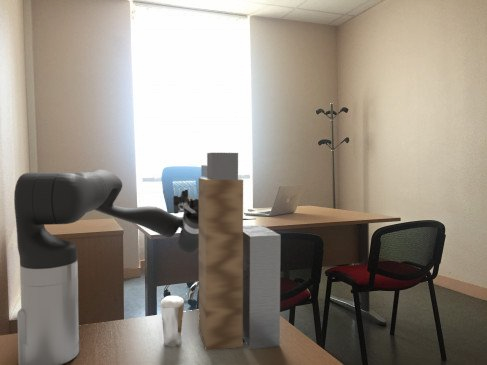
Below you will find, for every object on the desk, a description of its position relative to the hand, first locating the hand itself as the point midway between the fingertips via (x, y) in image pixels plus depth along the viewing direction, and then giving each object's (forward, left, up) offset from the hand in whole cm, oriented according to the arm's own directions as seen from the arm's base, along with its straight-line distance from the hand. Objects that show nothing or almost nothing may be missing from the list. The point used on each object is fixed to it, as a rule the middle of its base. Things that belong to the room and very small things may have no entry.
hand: (203, 192), depth 99 cm
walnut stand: (0, -21, -28) cm, 35 cm away
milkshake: (-9, -21, -28) cm, 36 cm away
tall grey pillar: (+8, -21, -28) cm, 36 cm away
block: (0, -16, +4) cm, 17 cm away
